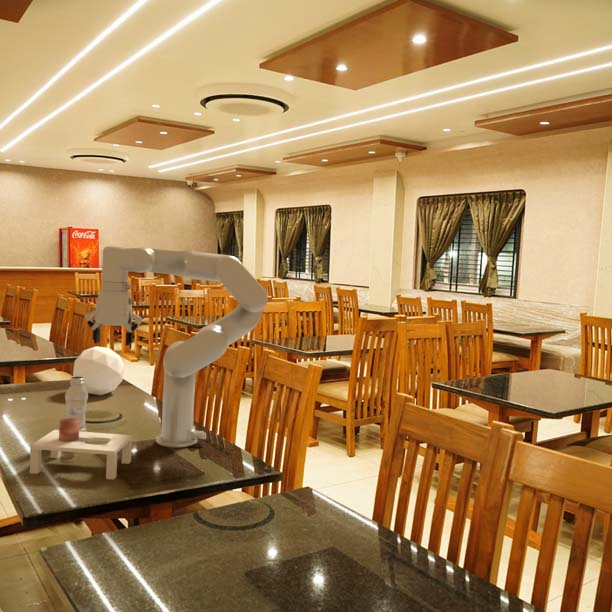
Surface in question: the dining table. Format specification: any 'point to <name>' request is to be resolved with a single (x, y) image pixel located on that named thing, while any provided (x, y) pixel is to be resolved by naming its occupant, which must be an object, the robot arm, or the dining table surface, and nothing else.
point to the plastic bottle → (77, 402)
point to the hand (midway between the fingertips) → (112, 343)
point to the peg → (68, 436)
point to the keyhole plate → (83, 449)
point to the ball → (99, 370)
